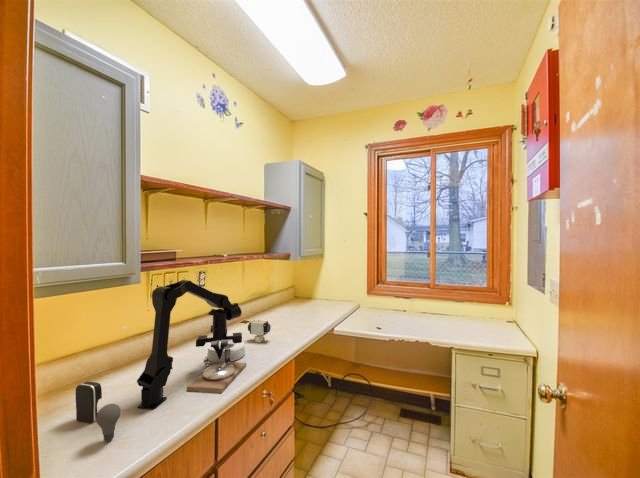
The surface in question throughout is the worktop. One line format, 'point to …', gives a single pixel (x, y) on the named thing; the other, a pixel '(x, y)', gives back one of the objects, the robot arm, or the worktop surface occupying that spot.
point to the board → (218, 385)
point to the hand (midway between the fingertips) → (219, 358)
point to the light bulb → (108, 420)
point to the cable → (235, 351)
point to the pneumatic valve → (259, 329)
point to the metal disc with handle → (220, 369)
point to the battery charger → (87, 401)
